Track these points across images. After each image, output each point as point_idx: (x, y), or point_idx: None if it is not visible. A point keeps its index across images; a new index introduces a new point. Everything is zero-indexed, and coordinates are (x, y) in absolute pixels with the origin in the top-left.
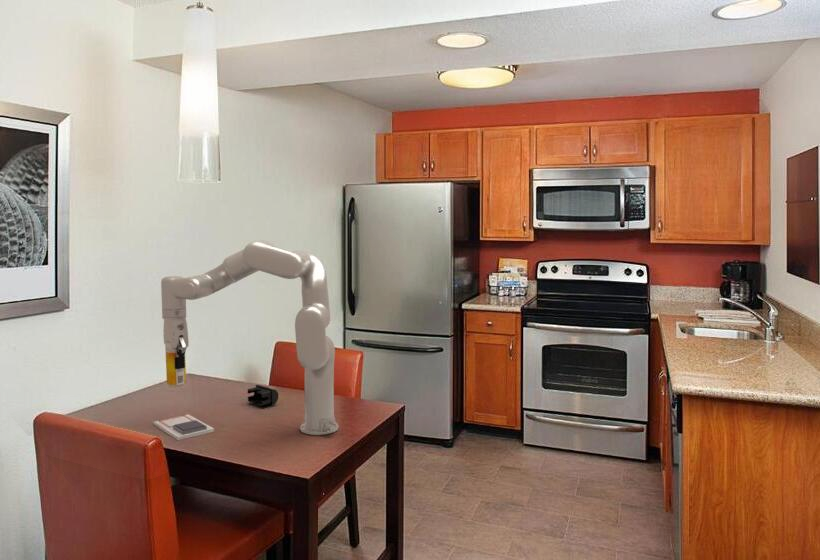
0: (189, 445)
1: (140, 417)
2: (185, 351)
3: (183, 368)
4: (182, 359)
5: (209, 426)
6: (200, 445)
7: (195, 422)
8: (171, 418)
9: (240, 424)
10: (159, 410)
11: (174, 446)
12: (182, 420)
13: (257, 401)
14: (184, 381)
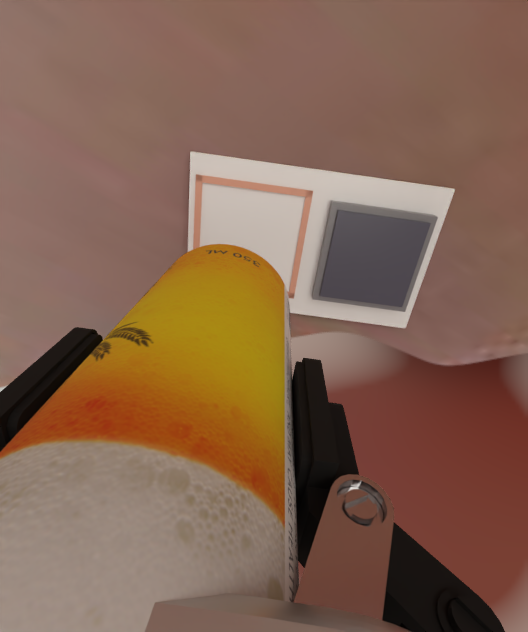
0: (476, 324)
1: (72, 283)
2: (485, 612)
3: (287, 348)
4: (353, 468)
5: (415, 186)
6: (512, 303)
7: (366, 228)
8: (200, 238)
9: (491, 25)
10: (16, 187)
11: (438, 355)
12: (252, 219)
13: None
14: (284, 287)
